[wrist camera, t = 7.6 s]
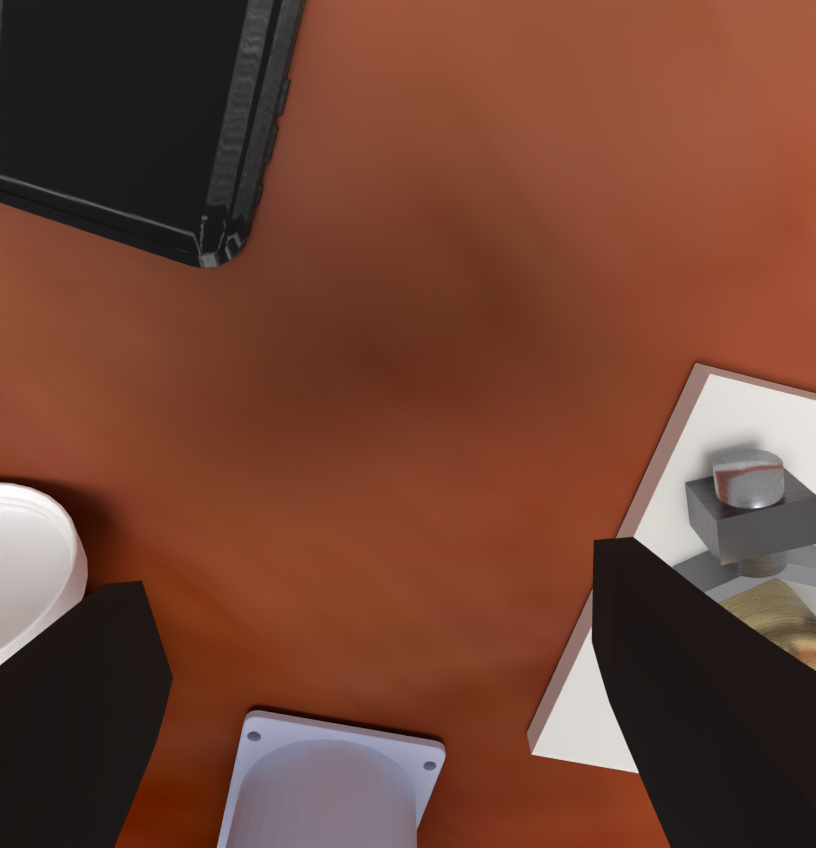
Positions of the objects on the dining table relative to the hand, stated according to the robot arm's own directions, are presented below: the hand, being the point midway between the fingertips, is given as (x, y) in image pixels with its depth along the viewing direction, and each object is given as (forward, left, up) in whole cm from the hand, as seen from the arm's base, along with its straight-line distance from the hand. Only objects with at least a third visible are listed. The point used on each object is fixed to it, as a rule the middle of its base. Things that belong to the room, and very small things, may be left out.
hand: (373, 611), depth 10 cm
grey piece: (0, -11, -10) cm, 15 cm away
